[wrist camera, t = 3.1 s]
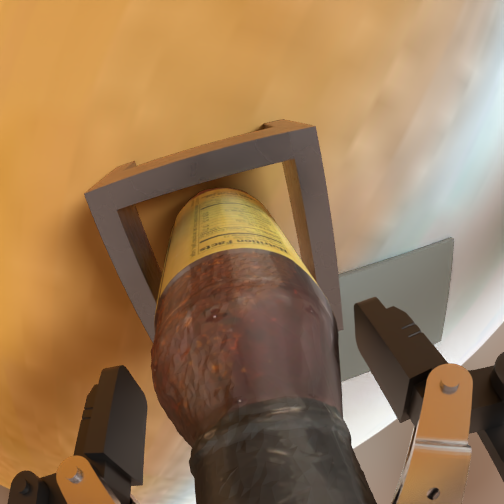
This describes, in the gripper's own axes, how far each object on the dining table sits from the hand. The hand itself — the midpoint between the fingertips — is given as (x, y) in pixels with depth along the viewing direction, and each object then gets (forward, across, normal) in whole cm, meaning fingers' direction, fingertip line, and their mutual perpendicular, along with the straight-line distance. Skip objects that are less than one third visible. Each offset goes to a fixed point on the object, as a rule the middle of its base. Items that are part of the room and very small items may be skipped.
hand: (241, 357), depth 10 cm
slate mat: (+12, -12, +12) cm, 21 cm away
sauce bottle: (+12, 0, 0) cm, 12 cm away
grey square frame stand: (+12, 0, 0) cm, 12 cm away
